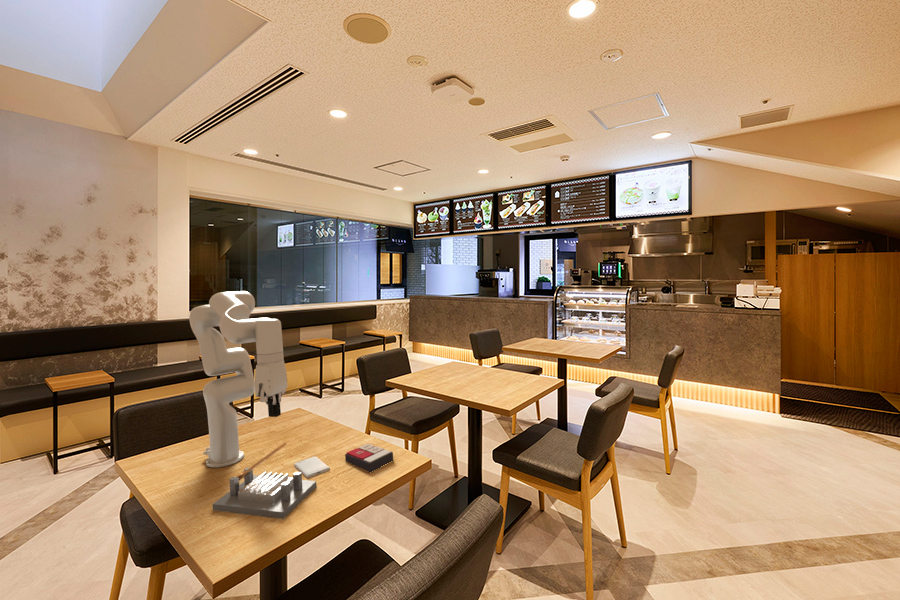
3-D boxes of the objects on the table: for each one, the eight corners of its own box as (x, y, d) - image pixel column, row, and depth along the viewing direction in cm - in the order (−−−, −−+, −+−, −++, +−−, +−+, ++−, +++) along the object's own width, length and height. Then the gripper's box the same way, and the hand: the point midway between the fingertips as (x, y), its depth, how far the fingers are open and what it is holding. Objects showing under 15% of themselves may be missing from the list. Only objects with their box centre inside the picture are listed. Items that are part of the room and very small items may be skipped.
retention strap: (236, 482, 120) (234, 477, 120) (245, 476, 124) (242, 472, 124) (280, 450, 116) (277, 446, 116) (287, 445, 119) (284, 441, 120)
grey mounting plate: (212, 510, 115) (212, 503, 114) (253, 480, 131) (253, 475, 131) (283, 519, 109) (283, 512, 109) (316, 487, 126) (316, 481, 126)
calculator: (367, 441, 152) (393, 450, 142) (368, 452, 152) (394, 461, 143) (344, 452, 144) (369, 461, 134) (345, 463, 144) (370, 473, 134)
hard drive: (294, 463, 141) (307, 475, 132) (315, 455, 146) (329, 466, 137) (294, 467, 141) (307, 479, 132) (316, 459, 146) (330, 471, 137)
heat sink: (227, 497, 117) (226, 481, 117) (250, 480, 127) (249, 465, 127) (284, 504, 113) (283, 487, 113) (304, 486, 123) (303, 470, 122)
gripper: (275, 354, 128) (279, 408, 129) (242, 363, 114) (247, 424, 114) (295, 353, 127) (299, 408, 127) (264, 363, 112) (269, 424, 113)
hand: (274, 415), depth 121 cm, fingers closed
